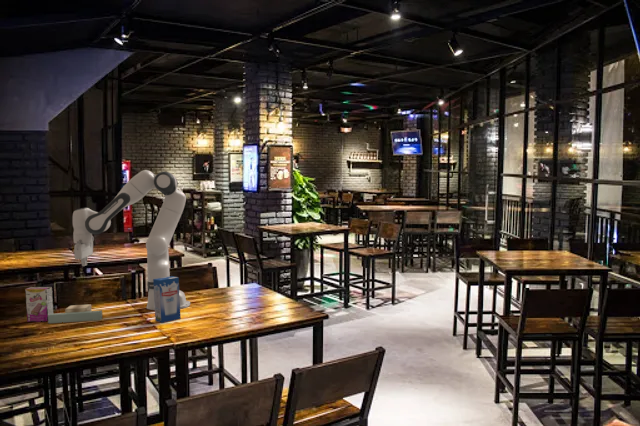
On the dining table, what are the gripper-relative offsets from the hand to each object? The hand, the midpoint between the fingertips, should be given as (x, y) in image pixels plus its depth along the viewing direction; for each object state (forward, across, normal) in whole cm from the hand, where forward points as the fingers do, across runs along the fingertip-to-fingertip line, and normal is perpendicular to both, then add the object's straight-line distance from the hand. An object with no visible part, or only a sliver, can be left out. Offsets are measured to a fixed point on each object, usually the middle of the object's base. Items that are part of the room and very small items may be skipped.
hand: (84, 265), depth 279 cm
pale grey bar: (+24, -20, 0) cm, 31 cm away
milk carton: (+24, -30, -45) cm, 59 cm away
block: (+24, -14, 0) cm, 28 cm away
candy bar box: (+24, -14, +18) cm, 33 cm away
